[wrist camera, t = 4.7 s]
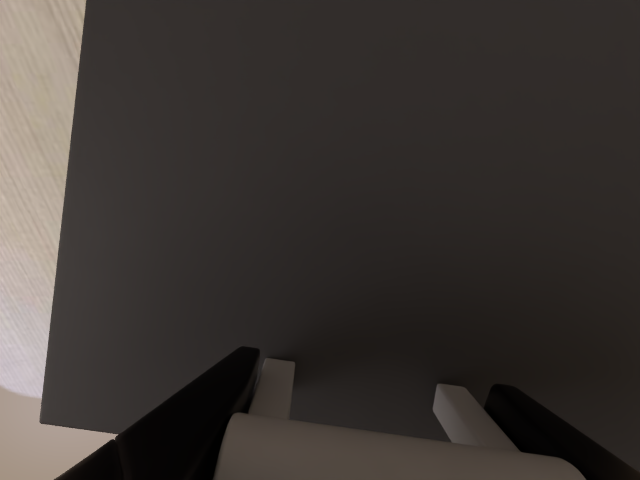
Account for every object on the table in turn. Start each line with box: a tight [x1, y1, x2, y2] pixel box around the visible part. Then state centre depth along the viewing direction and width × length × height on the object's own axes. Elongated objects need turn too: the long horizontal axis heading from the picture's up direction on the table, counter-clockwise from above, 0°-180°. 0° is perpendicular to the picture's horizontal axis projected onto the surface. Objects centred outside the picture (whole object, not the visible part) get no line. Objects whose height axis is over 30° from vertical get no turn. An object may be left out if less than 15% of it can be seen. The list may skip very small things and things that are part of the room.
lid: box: [40, 0, 640, 480], centre depth 7 cm, size 13×15×5 cm
